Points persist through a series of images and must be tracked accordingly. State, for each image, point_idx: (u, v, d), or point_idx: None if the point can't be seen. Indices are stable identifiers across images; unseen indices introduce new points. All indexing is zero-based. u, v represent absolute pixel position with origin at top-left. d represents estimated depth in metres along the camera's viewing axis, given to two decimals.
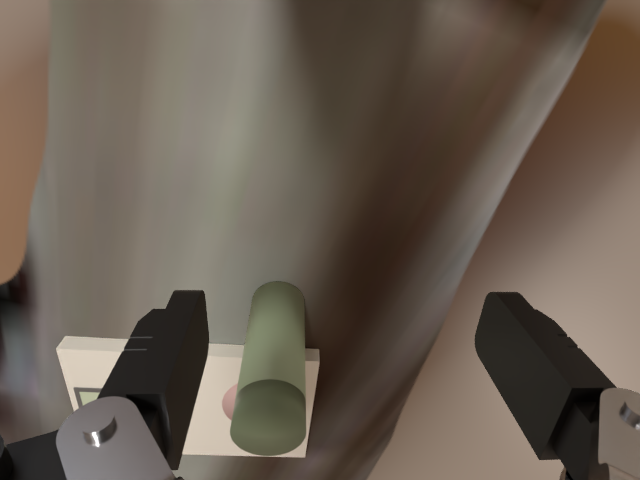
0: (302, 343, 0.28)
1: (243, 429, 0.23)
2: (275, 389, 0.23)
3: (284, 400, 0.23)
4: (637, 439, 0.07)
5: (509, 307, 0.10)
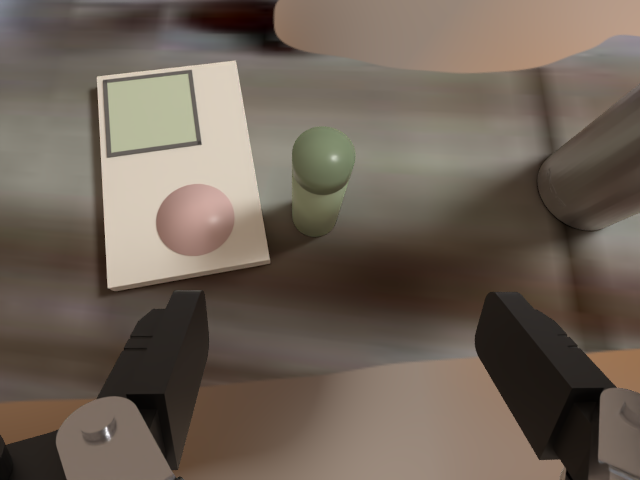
0: (335, 210, 0.33)
1: (323, 135, 0.28)
2: None
3: None
4: (637, 439, 0.07)
5: (509, 307, 0.10)
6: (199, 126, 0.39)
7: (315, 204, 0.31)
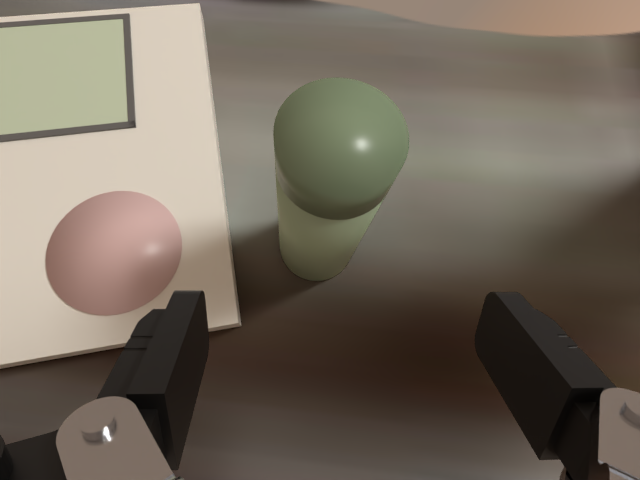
0: (354, 244, 0.18)
1: (341, 96, 0.13)
2: None
3: None
4: (637, 439, 0.07)
5: (509, 307, 0.10)
6: (134, 99, 0.25)
7: (319, 236, 0.16)
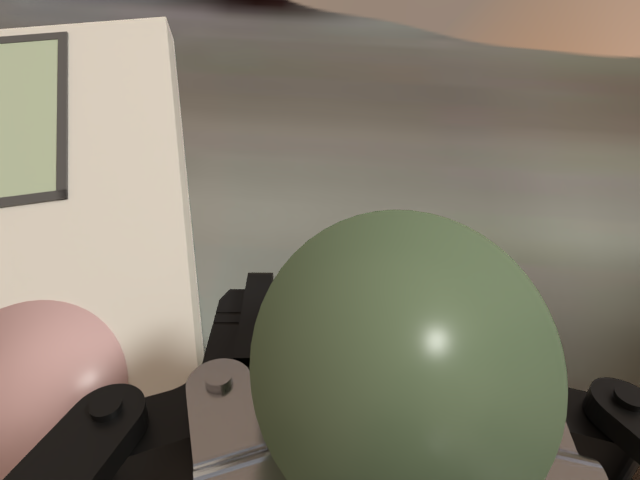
0: None
1: (403, 256, 0.06)
2: None
3: None
4: None
5: None
6: (67, 156, 0.17)
7: None
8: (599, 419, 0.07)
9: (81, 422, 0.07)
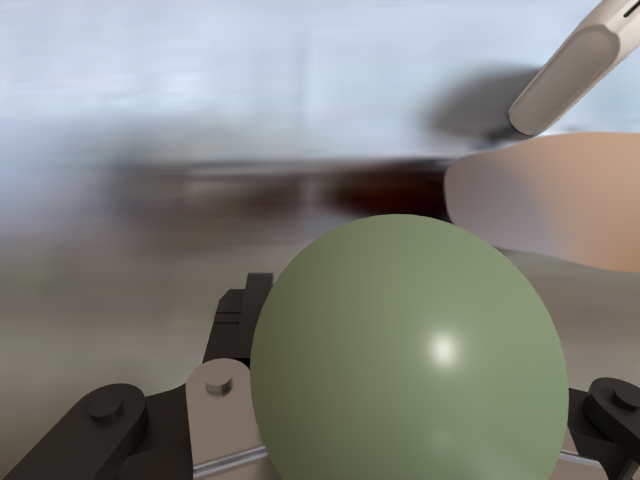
0: None
1: (404, 261, 0.06)
2: None
3: None
4: None
5: None
6: None
7: None
8: (599, 419, 0.07)
9: (81, 422, 0.07)
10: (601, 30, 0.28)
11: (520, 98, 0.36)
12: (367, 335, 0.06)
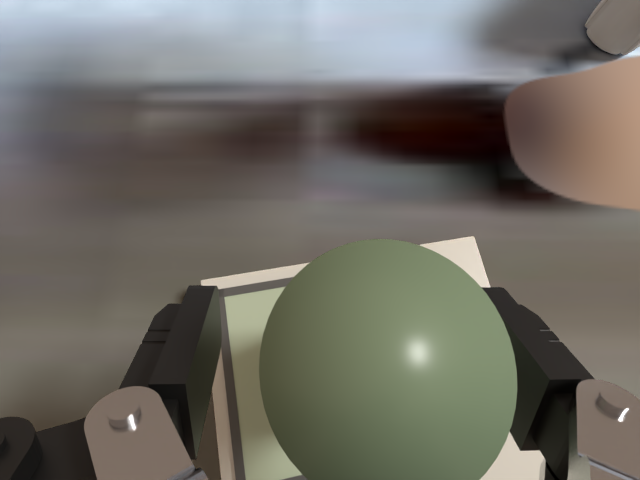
0: None
1: (384, 278, 0.07)
2: None
3: None
4: (610, 428, 0.07)
5: (493, 302, 0.10)
6: None
7: None
8: None
9: None
10: None
11: None
12: (353, 339, 0.07)
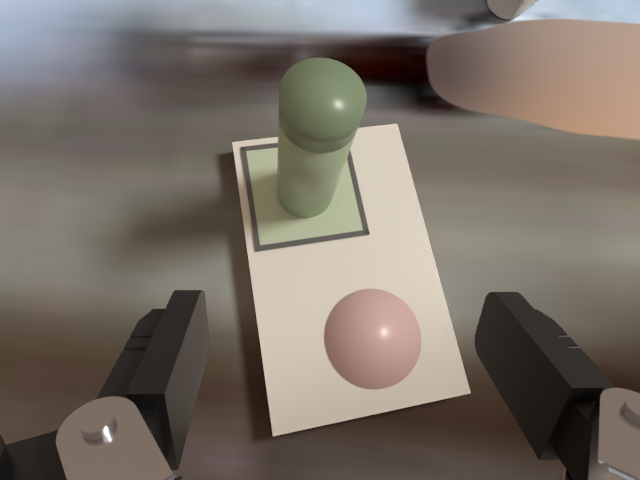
0: (332, 180, 0.26)
1: (323, 70, 0.20)
2: None
3: None
4: (637, 439, 0.07)
5: (509, 307, 0.10)
6: (364, 210, 0.31)
7: (307, 168, 0.23)
8: None
9: None
10: None
11: None
12: (311, 86, 0.20)
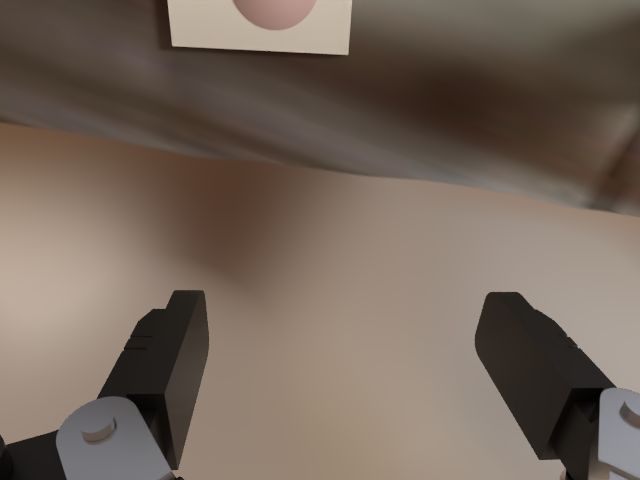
0: None
1: None
2: None
3: None
4: (637, 439, 0.07)
5: (509, 307, 0.10)
6: None
7: None
8: None
9: None
10: None
11: None
12: None
